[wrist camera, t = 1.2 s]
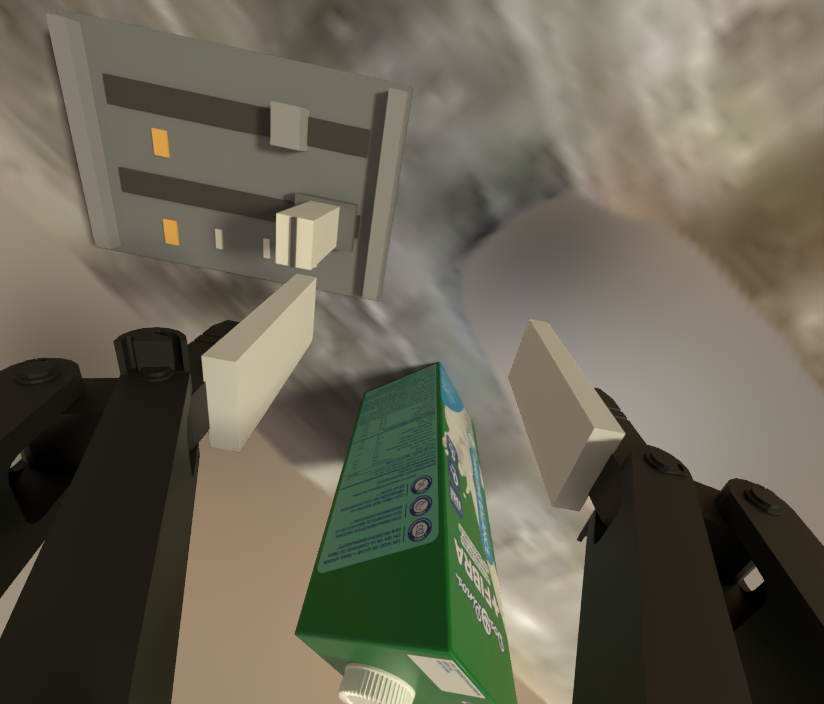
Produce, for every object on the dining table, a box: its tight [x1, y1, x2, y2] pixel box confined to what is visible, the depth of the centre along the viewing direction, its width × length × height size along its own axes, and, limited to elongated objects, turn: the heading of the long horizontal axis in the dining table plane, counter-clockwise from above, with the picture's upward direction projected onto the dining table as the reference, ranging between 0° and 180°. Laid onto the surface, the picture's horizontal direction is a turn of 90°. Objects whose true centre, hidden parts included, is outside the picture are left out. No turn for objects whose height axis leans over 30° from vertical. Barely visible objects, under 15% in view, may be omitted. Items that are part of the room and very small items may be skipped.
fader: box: [276, 192, 358, 270], centre depth 26 cm, size 4×5×8 cm
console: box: [45, 9, 413, 301], centre depth 29 cm, size 16×24×4 cm, turn 79°
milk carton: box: [295, 362, 517, 704], centre depth 29 cm, size 9×9×25 cm
